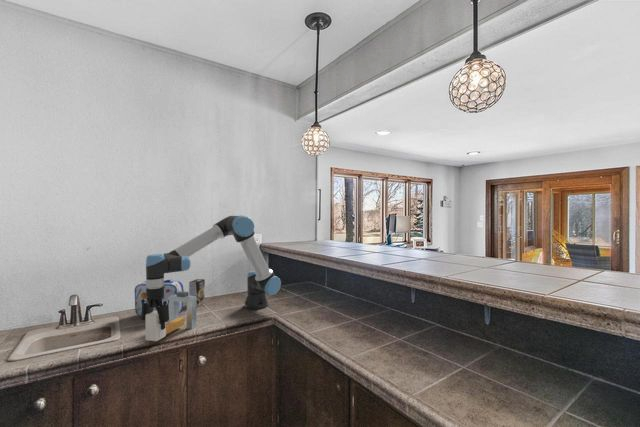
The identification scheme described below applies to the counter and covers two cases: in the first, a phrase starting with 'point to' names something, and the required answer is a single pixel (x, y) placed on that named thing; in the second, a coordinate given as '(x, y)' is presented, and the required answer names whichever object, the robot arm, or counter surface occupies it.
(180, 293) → the housing
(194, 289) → the coffee box
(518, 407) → the counter surface
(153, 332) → the plug
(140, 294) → the lunch box
